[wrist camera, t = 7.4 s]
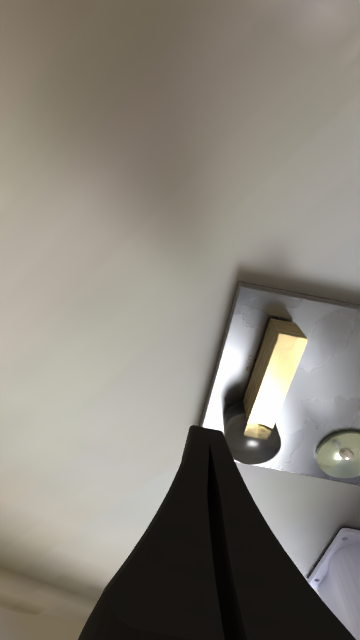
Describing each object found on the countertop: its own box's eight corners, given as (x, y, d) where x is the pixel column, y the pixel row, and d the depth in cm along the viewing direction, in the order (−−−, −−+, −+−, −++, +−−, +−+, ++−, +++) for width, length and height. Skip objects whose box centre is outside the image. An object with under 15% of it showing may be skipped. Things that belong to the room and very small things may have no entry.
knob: (265, 443, 21) (271, 469, 19) (217, 434, 21) (219, 458, 19) (312, 326, 17) (326, 342, 15) (254, 315, 17) (261, 330, 15)
